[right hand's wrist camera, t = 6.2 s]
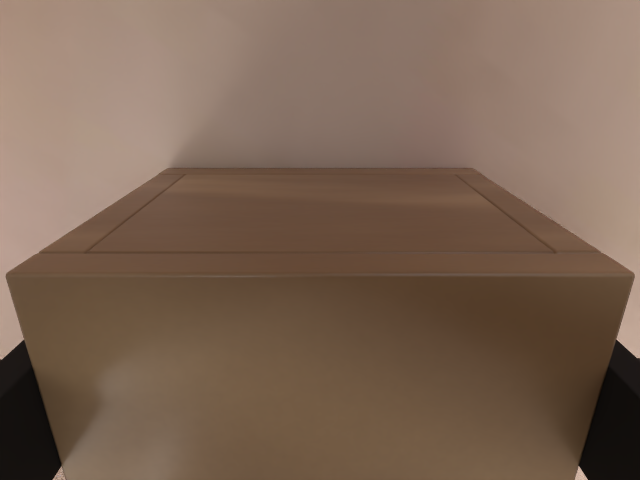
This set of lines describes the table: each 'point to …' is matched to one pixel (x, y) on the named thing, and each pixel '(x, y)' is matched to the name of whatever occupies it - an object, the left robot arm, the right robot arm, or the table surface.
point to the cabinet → (320, 329)
